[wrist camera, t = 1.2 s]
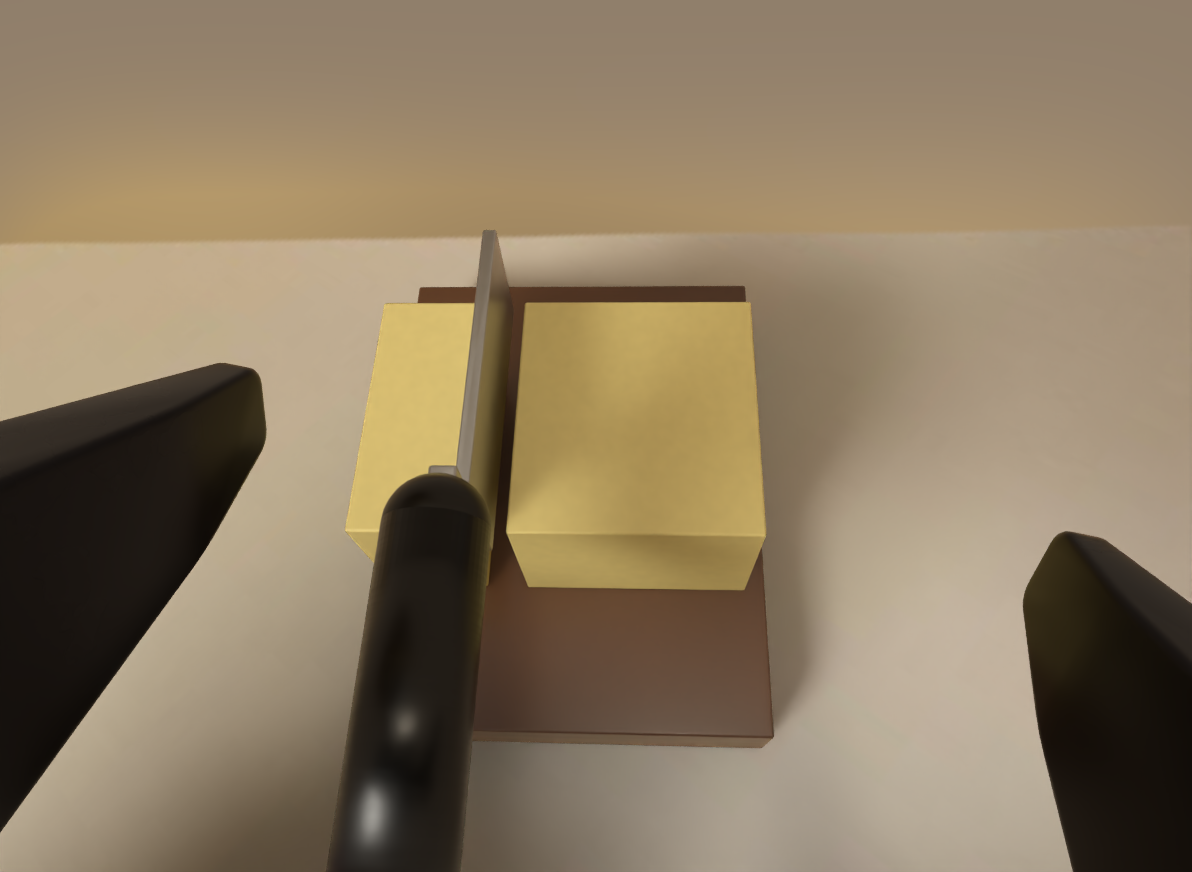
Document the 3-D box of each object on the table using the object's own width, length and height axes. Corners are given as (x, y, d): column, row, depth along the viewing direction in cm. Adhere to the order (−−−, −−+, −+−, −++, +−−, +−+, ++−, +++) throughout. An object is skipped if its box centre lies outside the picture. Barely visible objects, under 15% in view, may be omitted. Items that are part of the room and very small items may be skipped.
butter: (744, 590, 21) (766, 536, 17) (392, 585, 21) (343, 531, 18) (733, 384, 24) (750, 300, 20) (421, 384, 24) (383, 302, 21)
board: (763, 748, 21) (774, 738, 19) (375, 738, 22) (351, 727, 20) (738, 323, 27) (745, 285, 25) (433, 323, 27) (419, 286, 26)
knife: (495, 990, 14) (427, 1056, 10) (394, 986, 15) (276, 1049, 10) (543, 309, 21) (516, 149, 16) (473, 309, 21) (425, 150, 16)
